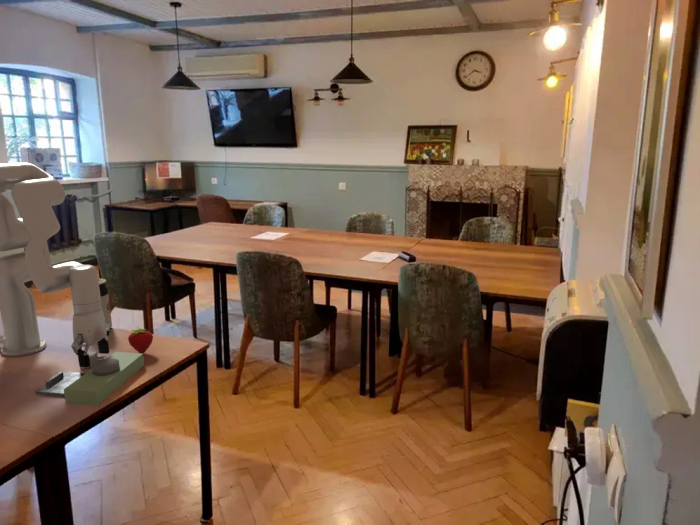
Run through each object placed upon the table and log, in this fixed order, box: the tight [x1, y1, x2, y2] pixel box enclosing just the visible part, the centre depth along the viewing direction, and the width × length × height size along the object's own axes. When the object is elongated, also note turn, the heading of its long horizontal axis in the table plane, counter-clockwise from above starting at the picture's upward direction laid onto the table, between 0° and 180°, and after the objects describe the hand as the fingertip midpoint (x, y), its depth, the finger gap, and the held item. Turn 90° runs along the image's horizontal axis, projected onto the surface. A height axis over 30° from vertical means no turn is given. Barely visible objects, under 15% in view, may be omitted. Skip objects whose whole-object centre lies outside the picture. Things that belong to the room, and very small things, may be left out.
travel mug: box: [98, 278, 113, 330], centre depth 185 cm, size 8×8×18 cm
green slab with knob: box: [64, 351, 145, 406], centre depth 147 cm, size 9×24×6 cm, turn 173°
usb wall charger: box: [79, 351, 107, 370], centre depth 158 cm, size 4×7×4 cm, turn 105°
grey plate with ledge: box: [34, 371, 86, 398], centre depth 146 cm, size 10×12×2 cm
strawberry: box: [127, 327, 154, 355], centre depth 166 cm, size 6×8×10 cm
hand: (94, 359), depth 158 cm, fingers open, 9 cm apart
